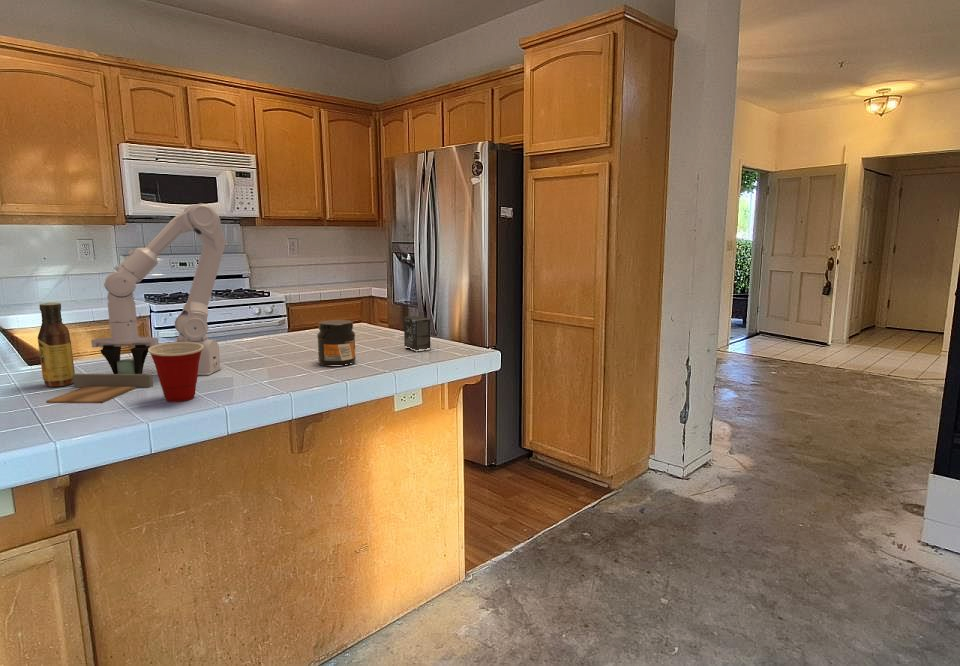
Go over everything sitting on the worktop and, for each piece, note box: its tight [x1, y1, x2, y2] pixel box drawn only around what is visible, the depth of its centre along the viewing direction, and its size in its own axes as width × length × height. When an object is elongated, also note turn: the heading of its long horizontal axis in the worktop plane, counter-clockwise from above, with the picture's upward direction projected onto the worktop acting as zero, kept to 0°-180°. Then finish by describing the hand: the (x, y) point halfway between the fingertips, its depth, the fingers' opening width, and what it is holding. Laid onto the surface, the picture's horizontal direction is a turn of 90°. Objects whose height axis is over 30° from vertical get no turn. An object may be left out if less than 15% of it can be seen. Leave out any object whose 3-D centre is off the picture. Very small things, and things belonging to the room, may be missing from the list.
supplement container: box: [316, 319, 357, 366], centre depth 161 cm, size 10×10×12 cm
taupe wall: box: [73, 373, 154, 388], centre depth 134 cm, size 18×1×3 cm, turn 91°
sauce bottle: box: [37, 302, 76, 388], centre depth 134 cm, size 7×6×20 cm
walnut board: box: [45, 386, 136, 404], centre depth 127 cm, size 12×12×1 cm
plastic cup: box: [148, 341, 204, 403], centre depth 124 cm, size 11×11×12 cm
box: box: [403, 315, 431, 350], centre depth 182 cm, size 8×6×11 cm
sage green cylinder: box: [117, 358, 135, 374], centre depth 140 cm, size 4×4×5 cm
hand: (128, 374), depth 140 cm, fingers closed on sage green cylinder, 4 cm apart
